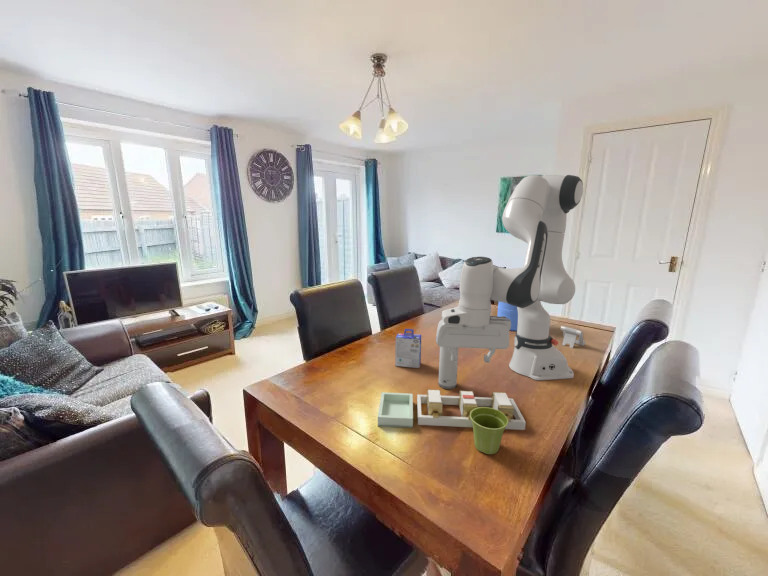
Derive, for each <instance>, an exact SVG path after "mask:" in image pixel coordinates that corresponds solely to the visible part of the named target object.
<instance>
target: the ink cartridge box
mask: <svg viewBox="0 0 768 576" xmlns="http://www.w3.org/2000/svg"><path fill="white" fill-rule="evenodd" d="M414 330H415V329H412V328H411V329H410V328H405V329H404V333H397V334H396V336H395V347H394V348H395V351H394V352H395V355H394V356H395V363H394V364H395V365H394V366H395V367H403V368H404V367H405V368H414V369H415V368H416V369H419V368H420V366H421V364H422V363H421V362H422V361H421V360H422V334H418V333H417V334H415V333H414V332H415V331H414Z"/></svg>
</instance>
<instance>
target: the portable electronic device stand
mask: <svg viewBox="0 0 768 576" xmlns="http://www.w3.org/2000/svg"><path fill="white" fill-rule="evenodd" d="M560 331H562V334H563V340H562V343H561V344H562V345H561V346H564V347H565V346H566V345H567V344H568V345H569V348H570V349H573V348H574V346H575V344H576V345H580V346H583V347H585V345H586V340H584V331H583V330H579V329H577V328H572V327H569V326H565V325H561V326H560ZM577 337H578V339H577Z"/></svg>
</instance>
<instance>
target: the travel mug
mask: <svg viewBox="0 0 768 576" xmlns="http://www.w3.org/2000/svg"><path fill="white" fill-rule="evenodd" d="M452 351H453V353H456V354H457V361H451V354H450V352H449V350H448V347H439V360H438V361H439V364H438V382H437V385H438V386H439V387H441V388H442V389H445V390H452V389H455V388H456V387H457V379H458V363H459V361H458V360H459V347H454V350H452Z"/></svg>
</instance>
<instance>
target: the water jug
mask: <svg viewBox="0 0 768 576" xmlns="http://www.w3.org/2000/svg"><path fill="white" fill-rule="evenodd" d="M497 302H498V304H497V314H496V315H497V316H498V317H501V316H504V317H506V318H508V319H510V321H511V329H510V330H509V331H515V332H516V331H517V326H518V310H517V307H516V306H513V305H510V304H508V303H503V302H499V301H497ZM506 320H507V319H506Z"/></svg>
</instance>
